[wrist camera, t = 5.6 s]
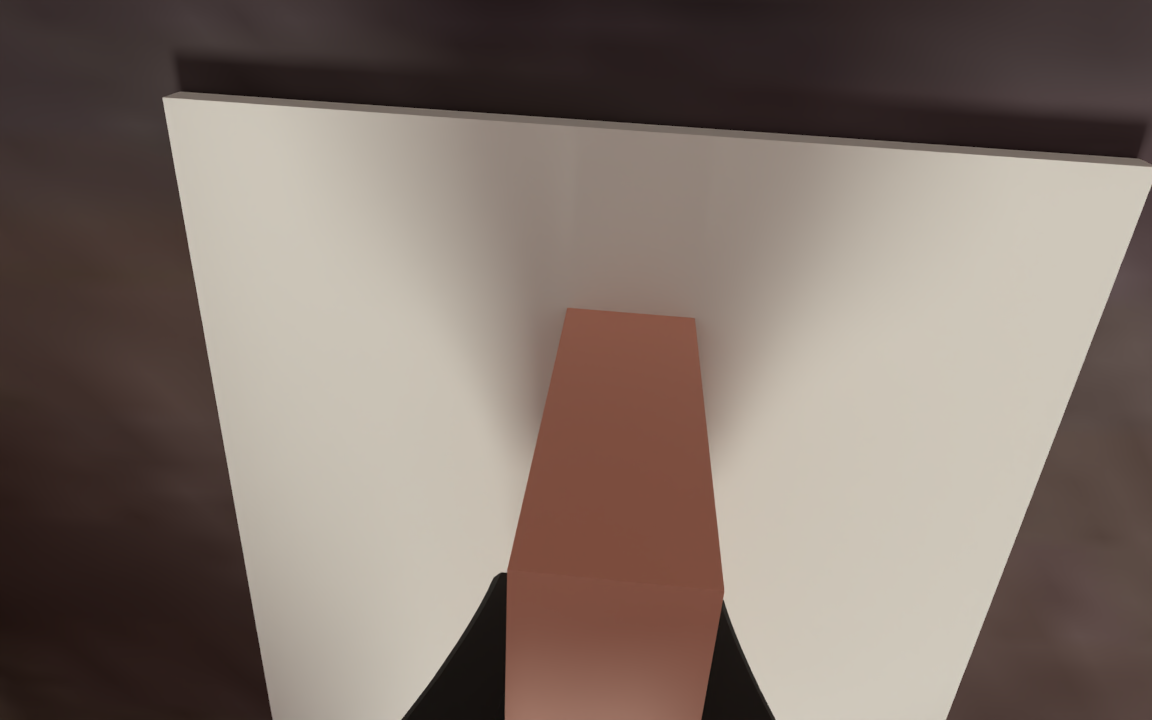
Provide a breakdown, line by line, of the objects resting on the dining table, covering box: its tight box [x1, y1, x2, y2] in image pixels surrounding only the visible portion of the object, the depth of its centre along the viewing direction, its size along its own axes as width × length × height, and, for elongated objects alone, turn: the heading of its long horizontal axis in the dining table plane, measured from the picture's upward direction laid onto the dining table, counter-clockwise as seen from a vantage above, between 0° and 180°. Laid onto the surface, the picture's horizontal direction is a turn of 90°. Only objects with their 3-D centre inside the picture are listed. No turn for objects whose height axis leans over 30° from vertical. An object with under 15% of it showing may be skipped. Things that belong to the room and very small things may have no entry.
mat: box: [162, 92, 1152, 720], centre depth 15 cm, size 14×14×1 cm
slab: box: [505, 308, 724, 720], centre depth 12 cm, size 9×2×6 cm, turn 177°
